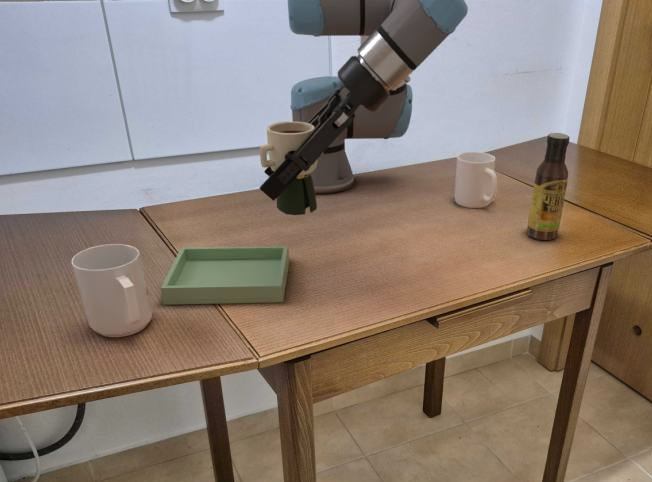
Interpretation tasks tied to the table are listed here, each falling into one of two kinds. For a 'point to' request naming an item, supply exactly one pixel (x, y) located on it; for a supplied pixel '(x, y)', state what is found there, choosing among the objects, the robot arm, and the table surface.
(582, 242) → the table surface
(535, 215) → the sauce bottle
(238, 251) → the tray
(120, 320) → the mug
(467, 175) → the cup
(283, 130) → the character mug
